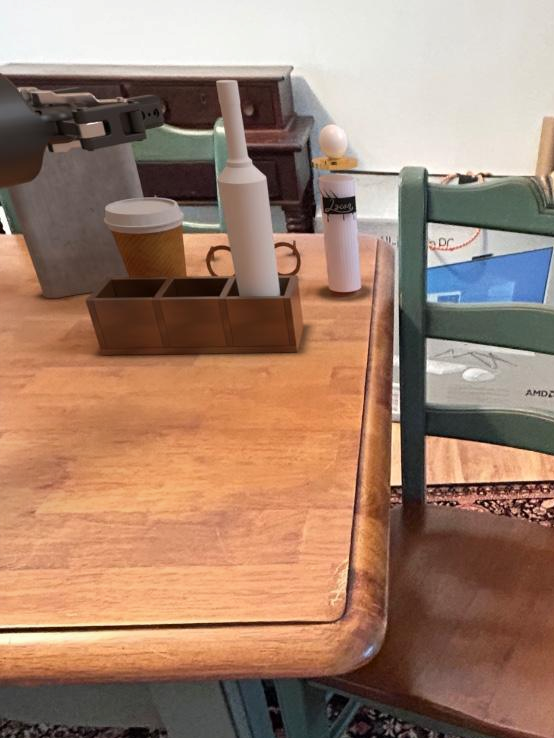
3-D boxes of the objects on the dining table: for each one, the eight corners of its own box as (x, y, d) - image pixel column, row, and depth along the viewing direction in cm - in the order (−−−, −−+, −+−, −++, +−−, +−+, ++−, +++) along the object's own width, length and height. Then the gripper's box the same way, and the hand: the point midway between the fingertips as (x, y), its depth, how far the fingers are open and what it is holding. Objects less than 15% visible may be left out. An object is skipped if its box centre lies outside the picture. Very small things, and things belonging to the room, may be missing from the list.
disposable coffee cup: (204, 290, 103) (184, 195, 95) (198, 314, 96) (177, 213, 88) (133, 294, 102) (108, 197, 94) (122, 318, 95) (93, 216, 87)
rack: (102, 355, 86) (85, 300, 82) (121, 329, 92) (106, 277, 88) (297, 352, 87) (290, 298, 83) (303, 327, 93) (297, 275, 89)
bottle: (236, 331, 89) (190, 80, 73) (272, 321, 92) (236, 77, 75) (258, 343, 86) (215, 85, 70) (295, 332, 89) (263, 81, 73)
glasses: (210, 285, 105) (202, 248, 102) (211, 258, 114) (205, 223, 111) (303, 279, 107) (298, 243, 104) (297, 253, 117) (292, 219, 113)
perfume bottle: (323, 286, 105) (306, 121, 92) (363, 284, 106) (352, 120, 93) (326, 300, 101) (309, 128, 87) (368, 297, 101) (357, 127, 88)
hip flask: (44, 299, 100) (-16, 126, 87) (43, 290, 103) (-15, 121, 90) (165, 285, 105) (125, 119, 92) (161, 276, 108) (122, 114, 94)
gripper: (0, 78, 48) (174, 56, 59) (-139, 64, 52) (47, 47, 63) (41, 205, 53) (195, 164, 64) (-89, 182, 57) (75, 147, 68)
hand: (121, 105), depth 63 cm, fingers open, 8 cm apart
